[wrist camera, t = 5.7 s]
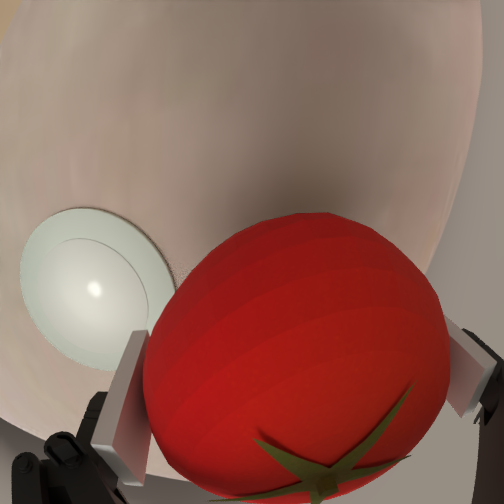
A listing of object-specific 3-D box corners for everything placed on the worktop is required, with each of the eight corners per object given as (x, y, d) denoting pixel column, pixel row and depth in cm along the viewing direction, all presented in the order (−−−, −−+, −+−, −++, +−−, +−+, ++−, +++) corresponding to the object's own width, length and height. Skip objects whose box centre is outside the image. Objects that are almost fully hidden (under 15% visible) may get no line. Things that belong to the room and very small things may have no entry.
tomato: (136, 348, 16) (88, 510, 6) (241, 152, 13) (304, 147, 3) (293, 408, 19) (332, 540, 9) (408, 263, 16) (540, 365, 6)
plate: (7, 224, 26) (1, 227, 25) (157, 191, 28) (155, 193, 26) (57, 366, 32) (53, 371, 31) (193, 361, 34) (192, 368, 33)
